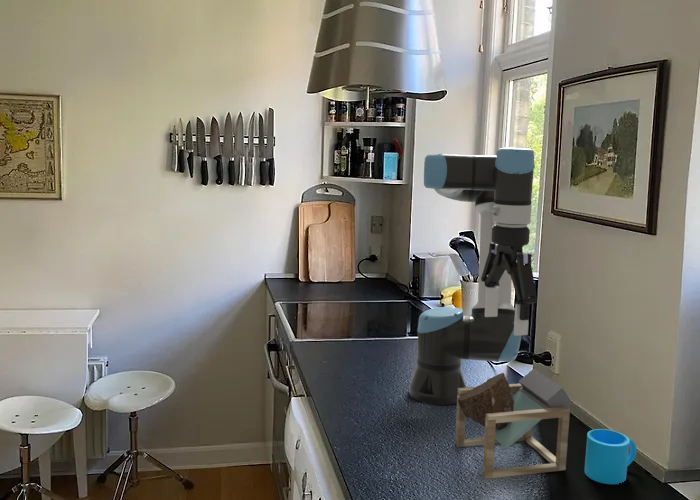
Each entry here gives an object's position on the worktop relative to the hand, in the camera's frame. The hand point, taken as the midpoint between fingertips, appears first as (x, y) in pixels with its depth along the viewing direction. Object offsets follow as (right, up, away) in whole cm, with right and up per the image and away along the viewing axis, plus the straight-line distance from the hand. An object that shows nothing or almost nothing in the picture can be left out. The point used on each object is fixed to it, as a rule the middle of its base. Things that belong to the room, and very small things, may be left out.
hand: (505, 325), depth 144 cm
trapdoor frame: (+2, -29, +5) cm, 29 cm away
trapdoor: (+6, -20, +5) cm, 22 cm away
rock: (+1, -21, +5) cm, 22 cm away
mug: (+22, -31, -1) cm, 38 cm away
